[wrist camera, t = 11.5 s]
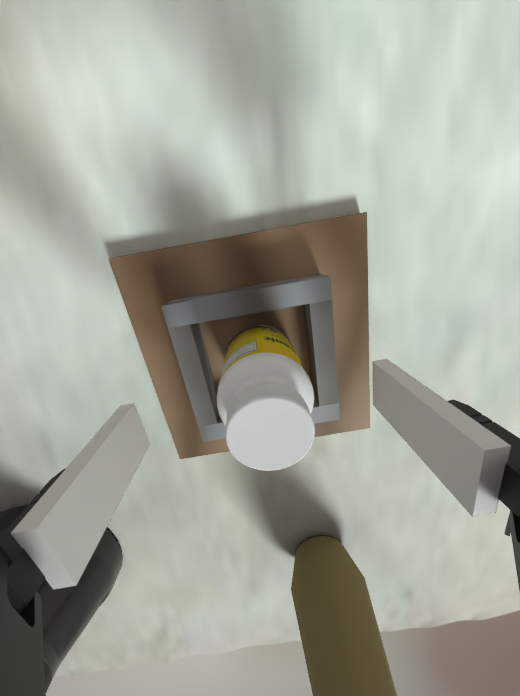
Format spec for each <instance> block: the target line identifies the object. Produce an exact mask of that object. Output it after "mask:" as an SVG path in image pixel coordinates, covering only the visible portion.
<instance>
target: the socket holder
mask: <svg viewBox="0 0 520 696" xmlns="http://www.w3.org/2000/svg"><path fill="white" fill-rule="evenodd" d="M109 262H110V264H111V267H112V270H113V273H114V275H115V278H116V281H117V284H118V287H119V289H120V292H121V295H122V298H123V301H124V303H125V306H126V309H127V312H128V315H129V317H130V320H131V323H132V326H133V329H134V331H135V334H136V337H137V340H138V343H139V345H140V348H141V351H142V354H143V357H144V359H145V362H146V365H147V368H148V371H149V373H150V376H151V379H152V382H153V384H154V387H155V390H156V393H157V396H158V398H159V401H160V404H161V407H162V410H163V412H164V415H165V418H166V421H167V424H168V426H169V429H170V432H171V435H172V438H173V440H174V443H175V446H176V449H177V452H178V454H179V457H180V459H184V458H190V457H196V456H202V455H208V454H214V453H220V452H227V451H230V450H229V448H228V446H227V443H226V438H225V430H226V426H225V424H224V423H223V421H222V419H221V417H220V415H219V412H218V408H217V392H218V386H219V382H220V378H221V373H222V369H223V365H224V361H225V356H226V352H227V349H228V346H229V344H230V342H231V341H232V339H233V338H234V337H235V336H236V335H237V334H238V333H239V332H240V331H242V330H244V329H245V328H248V327H251V326H255V325H266V326H271V327H273V328H276V329H278V330H279V331H281V332H282V333H283V334H284V335H285V336H286V337H287V338H288V339H289V341H290V342H291V344H292V346H293V348H294V350H295V352H296V354H297V356H298V358H299V360H300V362H301V363H302V365H303V367H304V369H305V371H306V372H307V375H308V376H309V378H310V381H311V384H312V387H313V391H314V405H313V410H312V413H311V416H312V419H313V422H314V427H315V436H314V437H318V436H324V435H330V434H336V433H342V432H348V431H354V430H360V429H366V428H370V390H369V323H368V256H367V212H364V213H358V214H353V215H347V216H342V217H336V218H331V219H325V220H320V221H314V222H309V223H303V224H297V225H292V226H286V227H281V228H275V229H270V230H264V231H259V232H253V233H248V234H242V235H236V236H231V237H225V238H220V239H214V240H209V241H203V242H198V243H192V244H186V245H181V246H175V247H170V248H164V249H159V250H153V251H148V252H142V253H137V254H131V255H125V256H120V257H114V258H109Z"/></svg>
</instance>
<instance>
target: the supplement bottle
mask: <svg viewBox="0 0 520 696" xmlns="http://www.w3.org/2000/svg"><path fill="white" fill-rule="evenodd" d="M313 405H314V391H313V387H312V384H311V381H310V378H309V376H308V375H307V372H306V371H305V369H304V367H303V365H302V363H301V362H300V360H299V358H298V356H297V354H296V352H295V350H294V348H293V346H292V344H291V342H290V341H289V339H288V338H287V337H286V336H285V335H284V334H283V333H282V332H281V331H279V330H278V329H276V328H273V327H271V326H266V325H255V326H251V327H248V328H245V329H244V330H242V331H240V332H239V333H238V334H237V335H236V336H235V337H234V338H233V339H232V341H231V342H230V344H229V346H228V349H227V352H226V356H225V361H224V365H223V369H222V373H221V378H220V382H219V386H218V392H217V408H218V412H219V415H220V417H221V419H222V421H223V423H224V424H225V426H226V430H225V438H226V443H227V446H228V448H229V450H230V452H231V453H232V455H233V456H234V457H235V458H236V459H237V460H238V461H239V462H241V463H242V464H244V465H246V466H248V467H250V468H253V469H257V470H263V471H273V470H279V469H283V468H286V467H289V466H291V465H293V464H295V463H296V462H298V461H299V460H301V459H302V458H303V457H304V456H305V455H306V454H307V452H308V451H309V449H310V448H311V446H312V444H313V441H314V436H315V427H314V422H313V419H312V416H311V413H312V410H313Z"/></svg>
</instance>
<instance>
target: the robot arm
mask: <svg viewBox="0 0 520 696" xmlns="http://www.w3.org/2000/svg"><path fill="white" fill-rule="evenodd" d="M373 405H374V406H375V407H376V408H377V410H378V411H379V412H380V413H381V414H382V415H383V416H384V417H385V419H386V420H387V421H388V422H389V423H390V424H391V425H392V427H393V428H394V429H395V430H396V431H397V432H398V433H399V434H400V436H401V437H402V438H403V439H404V440H405V441H406V442H407V443H408V445H409V446H410V447H411V448H412V449H413V450H414V451H415V453H416V454H417V455H418V456H419V457H420V458H421V459H422V460H423V462H424V463H425V464H426V465H427V466H428V467H429V468H430V469H431V471H432V472H433V473H434V474H435V475H436V476H437V477H438V478H439V480H440V481H441V482H442V483H443V484H444V485H445V486H446V488H447V489H448V490H449V491H450V492H451V493H452V494H453V495H454V497H455V498H456V499H457V500H458V501H459V502H460V503H461V504H462V506H463V507H464V508H465V509H466V510H467V511H468V512H469V514H470V515H471V516H472V517H475V516H481V515H487V514H493V513H496V510H497V506H498V501H499V500H501V501H502V502H503V503H504V504H505V505H506V506H507V507H508V508H509V509H510V514H509V518H508V522H507V526H506V530H505V535H508V536H510V532H511V536H512V543H513V549H514V556H515V563H516V570H517V576H518V583H519V590H520V438H518V437H517V436H515V435H513V434H512V433H510V432H509V431H507V430H506V429H504V428H503V427H501V426H500V425H498V424H497V423H495V422H492V420H490V419H489V418H487V417H486V416H484V415H483V416H482V414H481V413H480V412H478V411H476V410H475V409H473V408H472V407H470V406H469V405H466V404H463V403H461V402H458V401H456V400H450V401H446V400H445V399H443V398H442V397H441V396H439V395H438V394H436V393H435V392H433V391H432V390H430V389H429V388H428V387H426V386H425V385H423V384H422V383H420V382H419V381H418V380H416V379H415V378H413V377H412V376H410V375H409V374H408V373H406V372H405V371H403V370H402V369H400V368H399V367H398V366H396V365H395V364H393V363H392V362H390V361H389V360H387V359H383V360H377V361H373ZM149 445H150V442H149V439H148V437H147V434H146V432H145V429H144V427H143V424H142V422H141V419H140V417H139V414H138V412H137V409H136V407H135V404H134V403H133V404H128V405H122V406H120V407H119V408H118V409H117V410H116V411H115V413H114V414H113V415H112V416H111V417H110V418H109V419H108V421H107V422H106V423H105V424H104V425H103V426H102V428H101V429H100V430H99V431H98V432H97V433H96V435H95V436H94V437H93V438H92V439H91V440H90V442H89V443H88V444H87V445H86V446H85V447H84V448H83V450H82V451H81V452H80V453H79V454H78V455H77V457H76V458H75V459H74V460H73V461H72V462H71V464H70V465H69V466H68V467H67V468H66V469H64V470H62V471H61V472H60V473H59V474H57V475H56V476H55V477H53V478H52V479H51V480H50V481H49V482H48V483H47V484H46V485H45V487H44V488H43V489H42V490H41V491H40V494H37V496H36V497H35V498H34V499H33V500H32V501H31V504H29V505H28V506H25V507H19V508H14V509H10V510H7V511H5V512H2V513H0V696H46V695H45V694H46V692H47V689H48V687H49V685H50V683H51V681H52V679H53V677H54V675H55V673H56V670H57V669H58V667H59V665H60V663H61V662H62V660H63V659H64V658H65V656H66V655H67V653H68V652H69V650H70V649H71V647H72V646H73V645H74V643H75V642H76V640H77V639H78V637H79V636H80V634H81V633H82V632H83V630H84V629H85V627H86V626H87V624H88V623H89V621H90V620H91V618H92V617H93V615H94V614H95V612H96V611H97V609H98V607H99V606H100V605H101V604H102V603H103V602H104V600H105V599H106V598H107V597H108V595H109V593H110V592H111V590H112V588H113V586H114V583H115V581H116V578H117V576H118V574H119V571H120V569H121V566H122V561H123V556H122V551H121V548H120V546H119V544H118V542H117V540H116V539H115V538H114V536H113V535H112V534H111V533H110V532H109V531H108V530H107V529H106V528H107V526H108V524H109V522H110V520H111V518H112V516H113V514H114V512H115V510H116V508H117V507H118V505H119V503H120V501H121V499H122V497H123V495H124V493H125V491H126V489H127V487H128V485H129V483H130V482H131V480H132V478H133V476H134V474H135V472H136V470H137V468H138V466H139V464H140V462H141V460H142V459H143V457H144V455H145V453H146V451H147V449H148V447H149Z"/></svg>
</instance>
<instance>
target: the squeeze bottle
mask: <svg viewBox="0 0 520 696" xmlns="http://www.w3.org/2000/svg"><path fill="white" fill-rule="evenodd" d="M291 591H292V596H293V601H294V606H295V610H296V615H297V620H298V625H299V630H300V635H301V640H302V644H303V649H304V654H305V659H306V664H307V669H308V673H309V678H310V683H311V687H312V693H313V696H397V694H396V691H395V687H394V683H393V680H392V676H391V672H390V669H389V665H388V661H387V658H386V654H385V651H384V648H383V644H382V640H381V636H380V632H379V629H378V625H377V622H376V618H375V614H374V611H373V607H372V604H371V600H370V596H369V593H368V589H367V585H366V582H365V578H364V576H363V575H362V573H361V572H360V570H359V569H358V567H357V566H356V564H355V563H354V561H353V560H352V558H351V557H350V555H349V554H348V552H347V551H346V549H345V548H344V546H343V545H342V544H341V542H340V541H339V540H337V539H335V538H333V537H327V536H319V537H313V538H311V539H308V540H306V541H304V542H303V543H302V544H301V545H300V546H299V547H298V549H297V551H296V555H295V563H294V571H293V579H292V587H291Z"/></svg>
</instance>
